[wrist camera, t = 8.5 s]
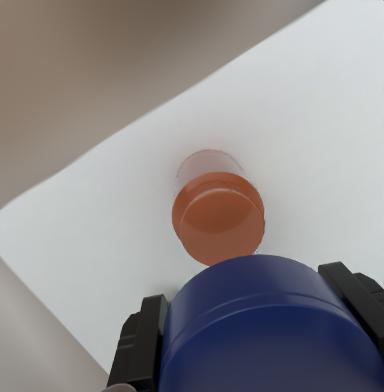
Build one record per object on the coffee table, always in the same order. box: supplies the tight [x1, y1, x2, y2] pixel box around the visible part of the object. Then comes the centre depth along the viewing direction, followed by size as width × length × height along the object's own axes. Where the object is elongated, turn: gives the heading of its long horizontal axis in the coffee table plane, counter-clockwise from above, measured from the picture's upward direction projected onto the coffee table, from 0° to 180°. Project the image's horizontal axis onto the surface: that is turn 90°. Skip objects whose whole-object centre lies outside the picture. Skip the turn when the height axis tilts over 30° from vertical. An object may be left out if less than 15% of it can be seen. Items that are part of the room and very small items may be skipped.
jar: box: [172, 150, 265, 266], centre depth 20 cm, size 5×5×9 cm
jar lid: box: [158, 254, 384, 392], centre depth 9 cm, size 6×6×2 cm
